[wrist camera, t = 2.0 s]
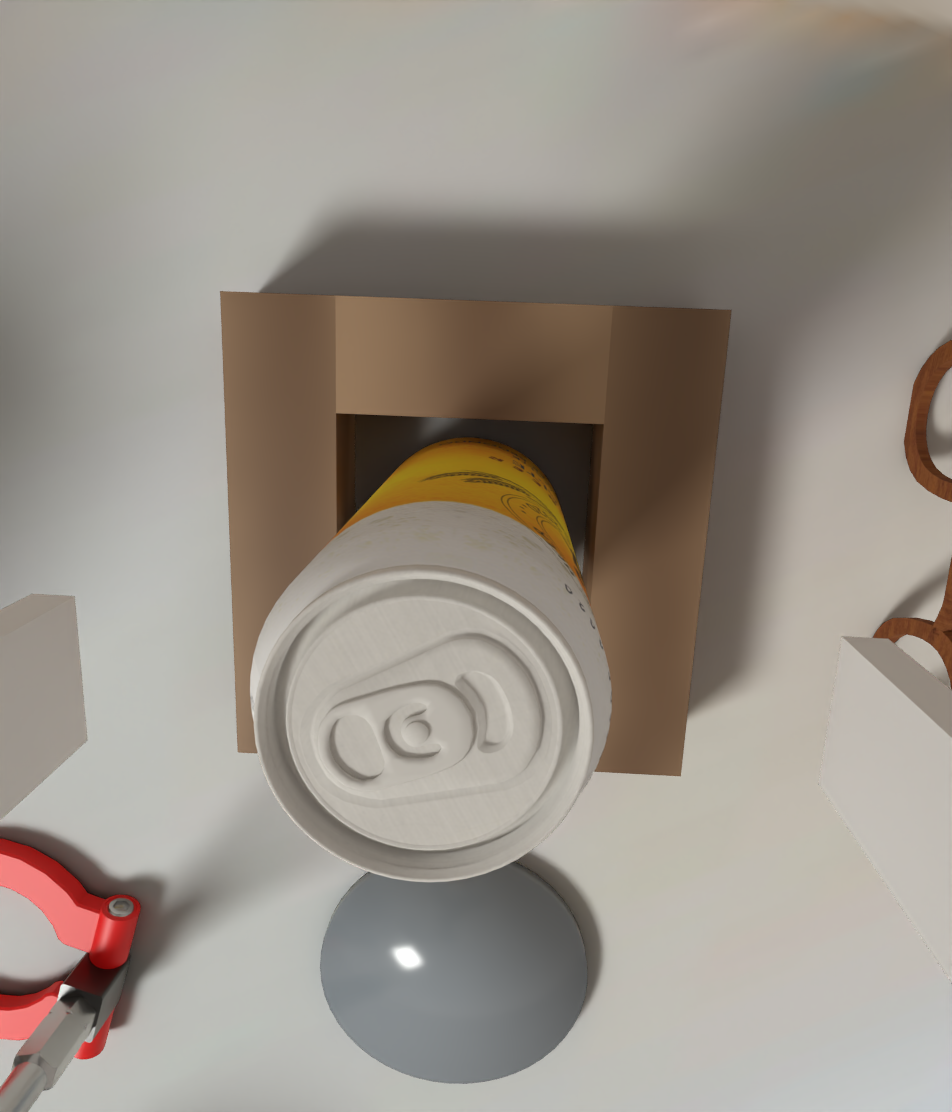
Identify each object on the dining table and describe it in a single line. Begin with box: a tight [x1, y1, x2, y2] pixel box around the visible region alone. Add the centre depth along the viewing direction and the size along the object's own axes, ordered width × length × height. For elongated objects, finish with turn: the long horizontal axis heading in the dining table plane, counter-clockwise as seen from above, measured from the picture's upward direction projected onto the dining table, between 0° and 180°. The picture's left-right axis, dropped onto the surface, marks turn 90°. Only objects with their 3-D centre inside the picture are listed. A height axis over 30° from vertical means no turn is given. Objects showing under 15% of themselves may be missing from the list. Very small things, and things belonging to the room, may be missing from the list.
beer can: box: [250, 437, 612, 882], centre depth 20 cm, size 6×6×15 cm
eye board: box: [220, 291, 731, 776], centre depth 26 cm, size 14×14×3 cm
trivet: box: [320, 862, 587, 1084], centre depth 31 cm, size 10×10×1 cm
